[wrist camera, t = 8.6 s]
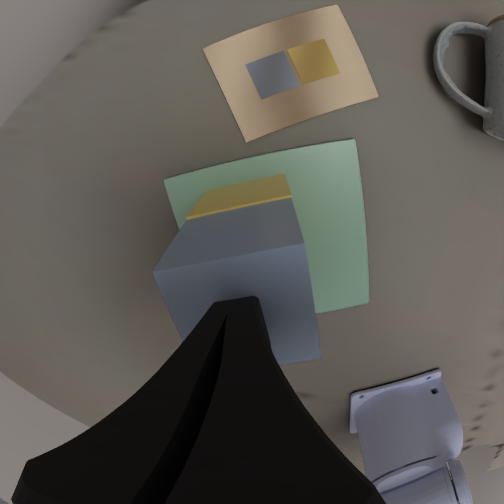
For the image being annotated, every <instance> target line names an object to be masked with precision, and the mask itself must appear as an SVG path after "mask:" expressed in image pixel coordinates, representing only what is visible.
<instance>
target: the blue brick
mask: <svg viewBox="0 0 504 504" xmlns="http://www.w3.org/2000/svg"><path fill="white" fill-rule="evenodd" d="M152 274H153V276H154V279H155V281H156V283H157V286H158V288H159V290H160V292H161V295H162V297H163V299H164V301H165V304H166V306H167V308H168V310H169V313H170V315H171V317H172V319H173V321H174V323H175V325H176V327H177V330H178V332H179V334H180V336H181V338H182V340H183V341H184V340H185V339H186V337H187V336H188V335H189V334H190V332H191V331H192V330H193V329H194V327H195V326H196V325H197V323H198V322H199V321H200V320H201V318H202V317H203V316H204V314H205V313H206V312H207V310H208V309H209V308H210V306H211V305H212V304H213V303H214V302H218V301H224V300H231V299H237V298H243V297H249V296H256V297H257V298H259V301H260V304H261V308H262V312H263V316H264V319H265V323H266V327H267V331H268V334H269V338H270V342H271V349H272V352H273V354H274V356H275V358H276V360H277V362H278V364H279V365H284V364H291V363H297V362H303V361H309V360H314V359H320V358H321V350H320V342H319V334H318V327H317V319H316V312H315V305H314V298H313V292H312V285H311V279H310V272H309V266H308V260H307V254H306V248H305V243H304V239H303V236H302V232H301V229H300V225H299V222H298V218H297V215H296V212H295V208H294V205H293V202H292V198H291V197H290V198H285V199H280V200H275V201H270V202H265V203H260V204H255V205H250V206H246V207H241V208H236V209H232V210H227V211H223V212H218V213H214V214H209V215H205V216H201V217H196V218H192V219H188V220H186V221H185V223H184V224H183V226H182V227H181V229H180V230H179V232H178V233H177V235H176V236H175V238H174V239H173V241H172V242H171V244H170V245H169V247H168V248H167V250H166V251H165V253H164V254H163V256H162V257H161V259H160V260H159V262H158V263H157V265H156V267H155V268H154V270H153V271H152Z"/></svg>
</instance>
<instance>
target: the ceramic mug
mask: <svg viewBox="0 0 504 504" xmlns="http://www.w3.org/2000/svg"><path fill="white" fill-rule="evenodd" d="M456 33H462V34H463V33H468V34H474V35H477V36H481V37H483V38H484V39H485V62H486V85H485V101H484V107H482V106H480V105H479V104H478V103H476V102H475V101H473V100H472V99H470V98H469V97H467V96H466V95H465V94H463V93H462V92H461V91H460V90H459V89H458V88H457V86H456V85H455V84H454V83H453V82H452V80H451V78H450V77H449V76H448V75H447V73H446V71H445V69H444V58H445V52H446V49H447V48H448V47H449V46H450V45H449V39H450V38H451V36H452V35H454V34H456ZM433 64H434V70H435V72H436V75H437V78H438V80H439V82H440V83H441V85H442V86H443V87H444V89H445V90H446V92H447V93H448V94H449V95H450V96H451V97H452V98H453V99H454V100H456V101H457V102H458V103H459V104H461V105H462V106H464V107H465V108H467V109H469V110H471V111H472V112H474V113H476V114H478V115H481V116H482V117H483V130H484V131H485V132H486V133H487V134H488V135H490V136H493V137H495V138H497V139H499V140H502V141H504V15H501V16H498V17H496V18H494V19H493V20H492V21H490V23H489V24H488V26H487V27H485V26H483V25H481V24H477V23H473V22H467V21H465V22H456V23H452V24H451V25H449V26H447V27H446V28H444V29H443V30H442V31H441V33H440V34H439V36H438V38H437V41H436V43H435V45H434V51H433Z"/></svg>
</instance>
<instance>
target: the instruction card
mask: <svg viewBox="0 0 504 504" xmlns="http://www.w3.org/2000/svg"><path fill="white" fill-rule="evenodd" d="M203 51H204V53H205V55H206V57H207V59H208V61H209V64H210V66H211V68H212V70H213V72H214V74H215V76H216V78H217V80H218V82H219V84H220V87H221V89H222V91H223V93H224V95H225V97H226V99H227V102H228V104H229V106H230V108H231V110H232V112H233V115H234V117H235V119H236V121H237V123H238V126H239V128H240V130H241V132H242V135H243V137H244V139H245V141H246V142H249V141H251V140H254V139H256V138H259V137H261V136H264V135H266V134H269V133H271V132H274V131H277V130H279V129H282V128H285V127H287V126H290V125H293V124H295V123H298V122H301V121H304V120H307V119H310V118H312V117H315V116H318V115H321V114H324V113H327V112H330V111H334V110H337V109H340V108H343V107H346V106H349V105H353V104H356V103H360V102H363V101H366V100H370V99H373V98H377V97H379V96H378V94H377V91H376V88H375V86H374V83H373V81H372V78H371V76H370V73H369V71H368V68H367V66H366V63H365V61H364V59H363V56H362V54H361V52H360V50H359V47H358V45H357V43H356V41H355V39H354V37H353V35H352V32H351V30H350V28H349V26H348V24H347V22H346V20H345V18H344V16H343V15H342V13H341V11H340V9H339V7H338V5H333V6H329V7H324V8H320V9H316V10H311V11H308V12H304V13H300V14H296V15H293V16H289V17H286V18H283V19H279V20H276V21H273V22H270V23H267V24H264V25H261V26H258V27H255V28H252V29H250V30H247V31H244V32H242V33H239V34H237V35H234V36H231V37H229V38H227V39H224V40H222V41H219V42H217V43H215V44H212V45H210V46H208V47H206V48H204V49H203Z"/></svg>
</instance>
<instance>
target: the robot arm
mask: <svg viewBox="0 0 504 504" xmlns="http://www.w3.org/2000/svg"><path fill="white" fill-rule="evenodd" d="M441 373H442V372H441V370H440V369H437V370H434V371H431V372H428V373H425V374H421V375H418V376H415V377H412V378H408V379H405V380H402V381H398V382H395V383H391V384H387V385H383V386H380V387H376V388H371V389H367V390H363V391H359V392H355V393H353V394H352V395H351V396H350V433H358V437H359V442H360V447H361V452H362V458H363V463H364V469H365V474H366V477H365V476H364V475H363V474H362V473H361V472H360V471H359V470H358V469H357V468H356V467H355V466H354V465H353V464H352V463H351V462H350V461H349V460H348V459H347V458H346V457H345V456H344V454H343V453H342V452H341V451H340V450H339V449H338V448H337V447H336V445H335V444H334V443H333V442H332V441H331V440H330V439H329V438H328V436H327V435H326V434H325V433H324V431H323V430H322V429H321V428H320V426H319V425H318V424H317V422H316V421H315V420H314V418H313V417H312V416H311V415H310V413H309V412H308V411H307V409H306V408H305V407H304V405H303V404H302V402H301V401H300V399H299V398H298V396H297V395H296V393H295V392H294V390H293V389H292V387H291V385H290V384H289V382H288V380H287V379H286V377H285V375H284V374H283V372H282V370H281V368H280V366H279V364H278V362H277V360H276V358H275V356H274V354H273V352H272V349H271V342H270V338H269V334H268V331H267V327H266V323H265V319H264V316H263V312H262V308H261V304H260V301H259V298H257V297H256V296H249V297H243V298H237V299H231V300H224V301H218V302H214V303H213V304H212V305H211V306H210V308H209V309H208V310H207V312H206V313H205V314H204V316H203V317H202V318H201V320H200V321H199V322H198V323H197V325H196V326H195V327H194V329H193V330H192V331H191V332H190V334H189V335H188V336H187V337H186V339H185V340H184V341H183V343H182V344H181V345H180V346H179V347H178V349H177V350H176V351H175V352H174V353H173V354H172V355H171V357H170V358H169V359H168V360H167V361H166V362H165V363H164V364H163V366H162V367H161V368H160V369H159V370H158V371H157V372H156V373H155V374H154V375H153V376H152V378H151V379H149V380H148V381H147V382H146V383H145V384H144V385H143V386H142V387H141V388H140V389H139V390H138V391H137V392H136V393H135V394H134V395H132V396H131V397H130V398H129V399H128V400H127V401H126V402H124V403H123V404H122V405H121V406H119V407H118V408H117V409H115V410H114V411H113V412H112V413H110V414H109V415H108V416H106V417H105V418H104V419H102V420H101V421H100V422H98V423H97V424H95V425H94V426H92V427H91V428H90V429H88V430H86V431H85V432H83V433H82V434H80V435H78V436H77V437H75V438H73V439H72V440H70V441H68V442H66V443H64V444H63V445H61V446H59V447H57V448H55V449H53V450H50V451H48V452H46V453H44V454H42V455H40V456H37V457H35V458H33V459H30V460H28V461H27V462H26V464H25V467H24V469H23V471H22V474H21V476H20V479H19V481H18V484H17V486H16V489H15V491H14V493H13V496H12V498H11V500H12V502H13V504H458V502H457V500H458V501H459V504H473V501H472V497H471V493H470V489H469V486H468V482H467V479H466V476H465V473H464V470H463V467H462V465H461V462H460V461H459V460H454V458H455V457H456V456H458V455H459V453H460V451H461V449H462V445H463V432H462V426H461V422H460V419H459V417H458V414H457V412H456V410H455V408H454V405H453V403H452V401H451V399H450V397H449V394H448V392H447V390H446V388H445V386H444V384H443V382H442V380H441V378H440V376H441ZM446 462H448V464H449V467H450V470H449V471H450V474H451V477H452V480H451V477H450V474H449V471H448V468H447V464H446ZM0 504H9V503H7V502H6V501H4V500H3V499H1V498H0Z"/></svg>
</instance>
